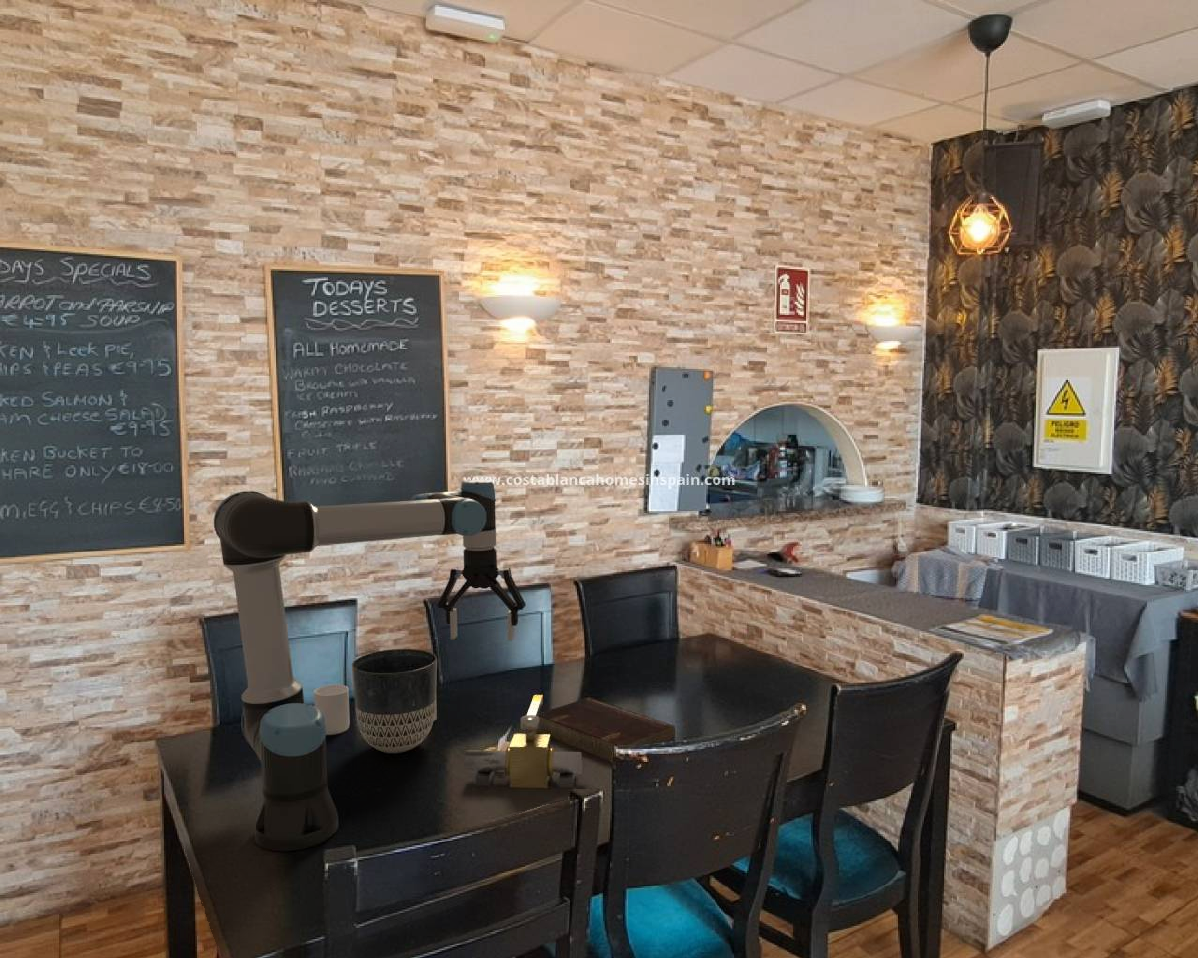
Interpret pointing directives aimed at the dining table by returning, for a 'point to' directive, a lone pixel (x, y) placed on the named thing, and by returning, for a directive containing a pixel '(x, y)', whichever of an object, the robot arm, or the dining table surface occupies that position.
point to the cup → (333, 707)
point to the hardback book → (602, 727)
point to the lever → (532, 714)
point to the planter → (395, 697)
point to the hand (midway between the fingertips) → (482, 638)
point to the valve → (525, 762)
